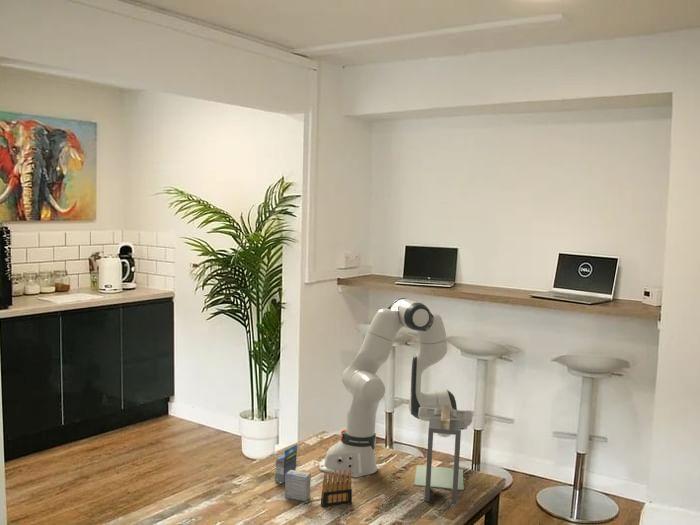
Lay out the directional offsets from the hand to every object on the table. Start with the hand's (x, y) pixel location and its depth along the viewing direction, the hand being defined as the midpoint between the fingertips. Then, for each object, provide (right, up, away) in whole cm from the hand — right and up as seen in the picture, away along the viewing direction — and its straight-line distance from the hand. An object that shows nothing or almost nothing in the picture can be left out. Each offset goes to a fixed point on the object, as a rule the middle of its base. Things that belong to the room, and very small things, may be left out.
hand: (445, 410), depth 251 cm
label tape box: (-59, -26, +1) cm, 64 cm away
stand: (-3, -29, -9) cm, 30 cm away
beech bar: (-1, -2, -6) cm, 7 cm away
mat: (-1, -27, +8) cm, 29 cm away
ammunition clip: (-40, -28, -19) cm, 52 cm away
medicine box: (-53, -27, -15) cm, 62 cm away
